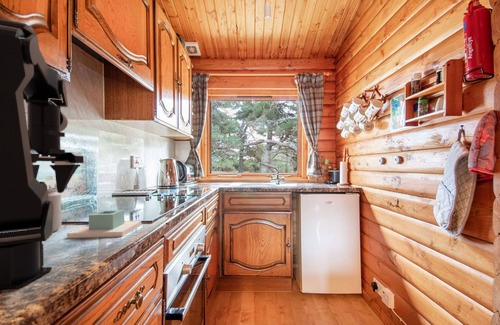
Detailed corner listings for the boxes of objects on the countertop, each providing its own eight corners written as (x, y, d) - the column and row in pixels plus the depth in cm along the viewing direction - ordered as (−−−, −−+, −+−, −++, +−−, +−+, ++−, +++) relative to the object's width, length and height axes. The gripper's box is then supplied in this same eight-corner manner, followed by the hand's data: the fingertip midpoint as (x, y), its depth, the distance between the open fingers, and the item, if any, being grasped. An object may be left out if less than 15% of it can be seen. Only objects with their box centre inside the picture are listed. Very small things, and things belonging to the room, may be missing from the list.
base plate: (122, 236, 63) (122, 218, 63) (67, 237, 63) (66, 219, 63) (141, 224, 75) (141, 209, 75) (94, 225, 75) (94, 210, 75)
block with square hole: (113, 229, 66) (112, 214, 66) (88, 229, 65) (88, 215, 65) (124, 223, 72) (124, 209, 72) (102, 224, 72) (102, 210, 72)
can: (30, 237, 64) (30, 191, 64) (24, 232, 68) (23, 190, 68) (65, 230, 70) (64, 188, 70) (57, 226, 74) (56, 187, 74)
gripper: (41, 132, 65) (42, 191, 65) (-39, 120, 46) (-38, 202, 46) (84, 132, 65) (85, 190, 65) (21, 119, 47) (22, 201, 46)
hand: (45, 195), depth 56 cm, fingers open, 9 cm apart
